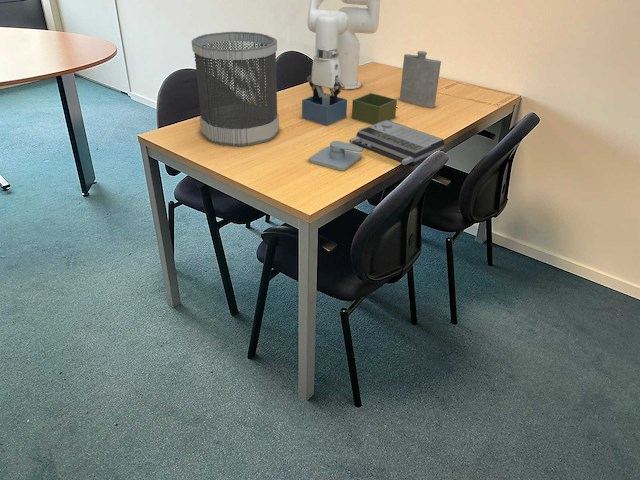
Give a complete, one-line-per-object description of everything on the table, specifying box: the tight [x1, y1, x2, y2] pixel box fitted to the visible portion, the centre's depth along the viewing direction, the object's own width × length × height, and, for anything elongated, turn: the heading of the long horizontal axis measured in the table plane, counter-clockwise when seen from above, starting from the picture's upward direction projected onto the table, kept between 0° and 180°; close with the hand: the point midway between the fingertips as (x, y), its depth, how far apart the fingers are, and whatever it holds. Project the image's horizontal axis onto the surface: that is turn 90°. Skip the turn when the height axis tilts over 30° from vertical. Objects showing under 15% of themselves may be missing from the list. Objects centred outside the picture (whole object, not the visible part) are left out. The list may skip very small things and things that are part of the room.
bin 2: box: [351, 92, 398, 125], centre depth 194 cm, size 12×12×7 cm
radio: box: [348, 120, 446, 167], centre depth 169 cm, size 24×5×20 cm
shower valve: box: [308, 140, 364, 172], centre depth 161 cm, size 12×6×15 cm
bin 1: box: [301, 92, 348, 127], centre depth 192 cm, size 12×12×7 cm
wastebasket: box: [191, 31, 280, 147], centre depth 173 cm, size 25×25×30 cm
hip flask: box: [399, 50, 442, 109], centre depth 206 cm, size 16×4×20 cm, turn 49°
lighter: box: [316, 86, 331, 106], centre depth 190 cm, size 7×2×8 cm, turn 51°
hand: (324, 103), depth 191 cm, fingers closed on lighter, 7 cm apart
